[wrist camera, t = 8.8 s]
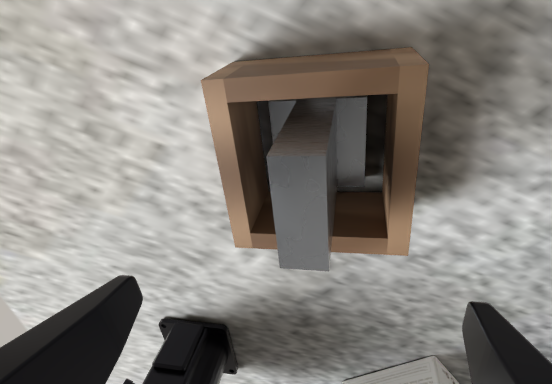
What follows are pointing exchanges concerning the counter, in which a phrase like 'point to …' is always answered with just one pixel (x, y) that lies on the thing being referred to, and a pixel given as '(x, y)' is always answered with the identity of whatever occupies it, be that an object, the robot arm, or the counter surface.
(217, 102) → the square frame
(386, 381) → the supplement box
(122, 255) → the counter surface
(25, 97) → the counter surface
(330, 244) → the bracket
